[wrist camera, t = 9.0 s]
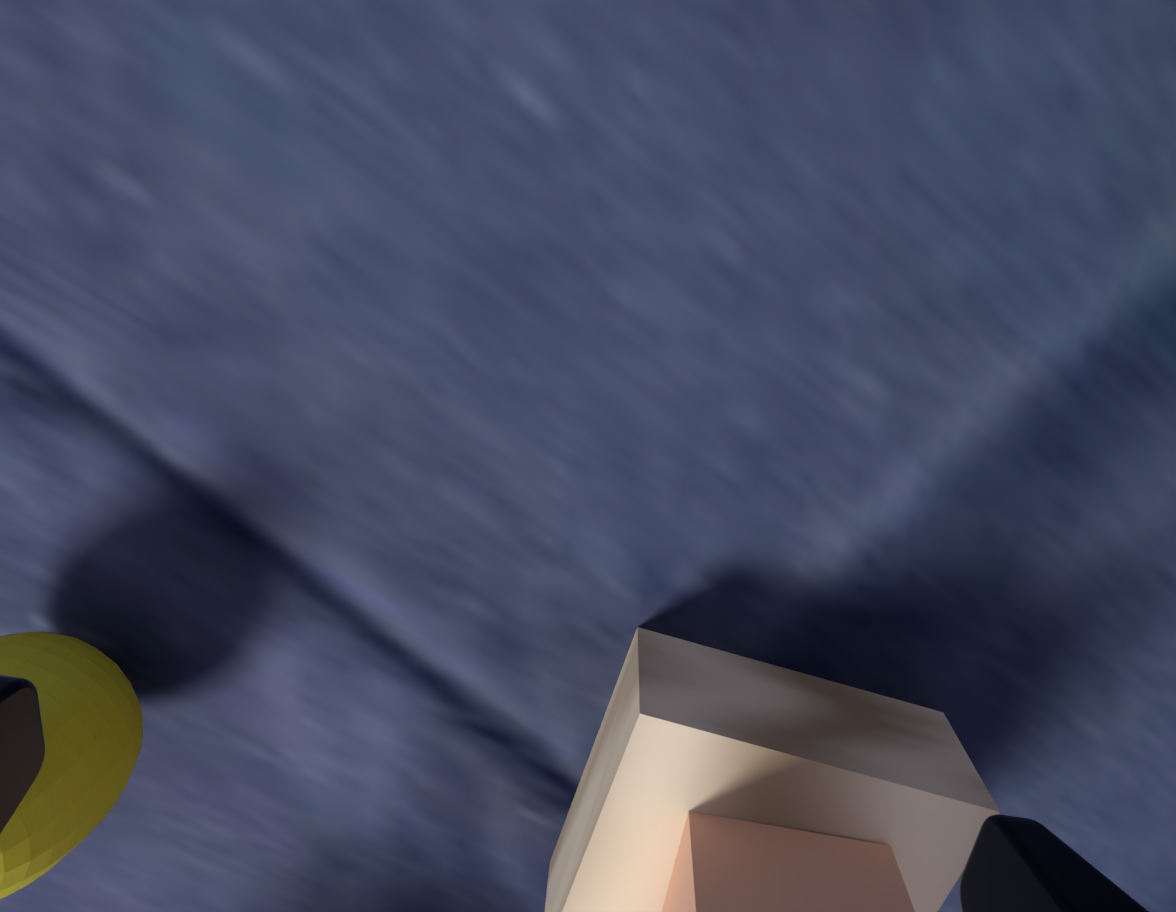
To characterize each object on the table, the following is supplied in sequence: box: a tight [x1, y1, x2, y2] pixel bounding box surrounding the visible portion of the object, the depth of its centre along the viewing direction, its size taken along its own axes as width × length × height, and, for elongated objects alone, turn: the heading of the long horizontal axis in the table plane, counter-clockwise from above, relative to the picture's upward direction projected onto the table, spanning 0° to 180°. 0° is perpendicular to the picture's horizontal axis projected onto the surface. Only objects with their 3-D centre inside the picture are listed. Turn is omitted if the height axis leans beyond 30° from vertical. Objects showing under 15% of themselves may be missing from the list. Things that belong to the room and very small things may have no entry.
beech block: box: [545, 627, 1000, 912], centre depth 22 cm, size 9×9×4 cm
